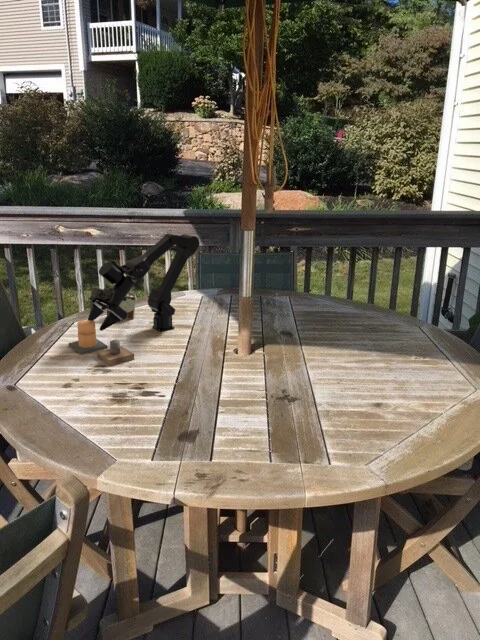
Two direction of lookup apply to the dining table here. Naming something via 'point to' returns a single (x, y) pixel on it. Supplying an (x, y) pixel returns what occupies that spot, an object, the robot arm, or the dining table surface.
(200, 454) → the dining table surface
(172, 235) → the robot arm
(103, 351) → the post stand
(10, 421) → the dining table surface
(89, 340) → the orange rounded bulb shape
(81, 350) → the mat
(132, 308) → the food container
